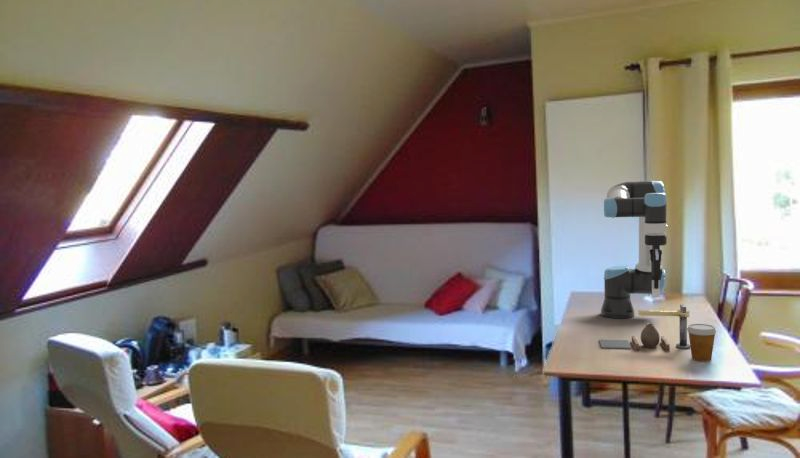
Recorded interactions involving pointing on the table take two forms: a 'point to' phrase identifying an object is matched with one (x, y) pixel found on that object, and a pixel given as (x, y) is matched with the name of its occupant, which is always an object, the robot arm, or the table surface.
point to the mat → (614, 344)
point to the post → (683, 334)
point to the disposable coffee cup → (701, 341)
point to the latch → (666, 312)
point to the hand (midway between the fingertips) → (655, 296)
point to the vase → (650, 336)
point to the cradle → (663, 341)
